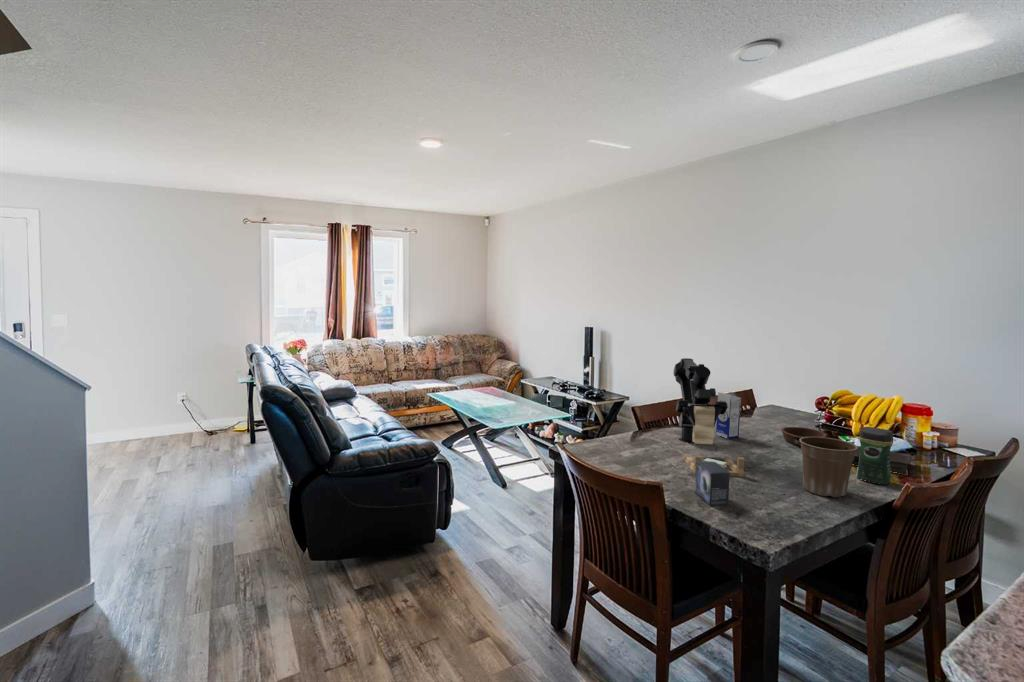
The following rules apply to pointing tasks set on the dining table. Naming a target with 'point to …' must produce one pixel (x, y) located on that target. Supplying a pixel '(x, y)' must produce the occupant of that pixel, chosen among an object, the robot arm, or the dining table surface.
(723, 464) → the offcut top
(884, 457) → the coffee jar
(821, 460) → the plant pot
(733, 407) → the milk carton
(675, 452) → the dining table surface
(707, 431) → the pale wooden block
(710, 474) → the small box
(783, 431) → the dish
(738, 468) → the rack
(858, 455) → the diary
